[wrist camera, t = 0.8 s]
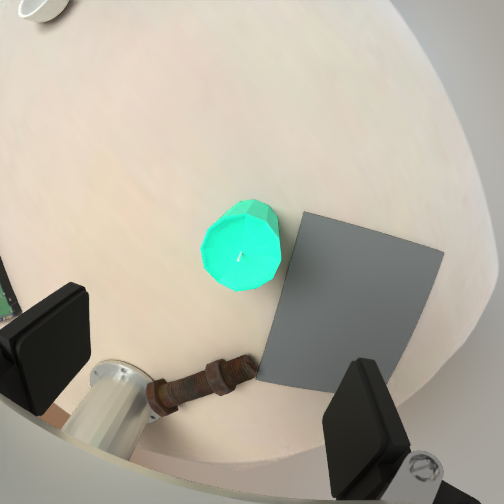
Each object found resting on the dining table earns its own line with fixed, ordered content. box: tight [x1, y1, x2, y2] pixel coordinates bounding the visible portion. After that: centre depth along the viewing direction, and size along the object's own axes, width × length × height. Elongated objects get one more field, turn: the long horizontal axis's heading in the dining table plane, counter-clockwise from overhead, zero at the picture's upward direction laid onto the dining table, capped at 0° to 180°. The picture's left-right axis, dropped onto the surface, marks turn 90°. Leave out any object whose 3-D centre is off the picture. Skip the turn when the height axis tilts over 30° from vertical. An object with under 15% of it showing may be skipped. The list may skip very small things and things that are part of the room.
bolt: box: [146, 355, 257, 417], centre depth 36 cm, size 6×5×15 cm
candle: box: [200, 199, 281, 292], centre depth 26 cm, size 6×6×12 cm
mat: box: [256, 212, 444, 393], centre depth 34 cm, size 22×18×1 cm
